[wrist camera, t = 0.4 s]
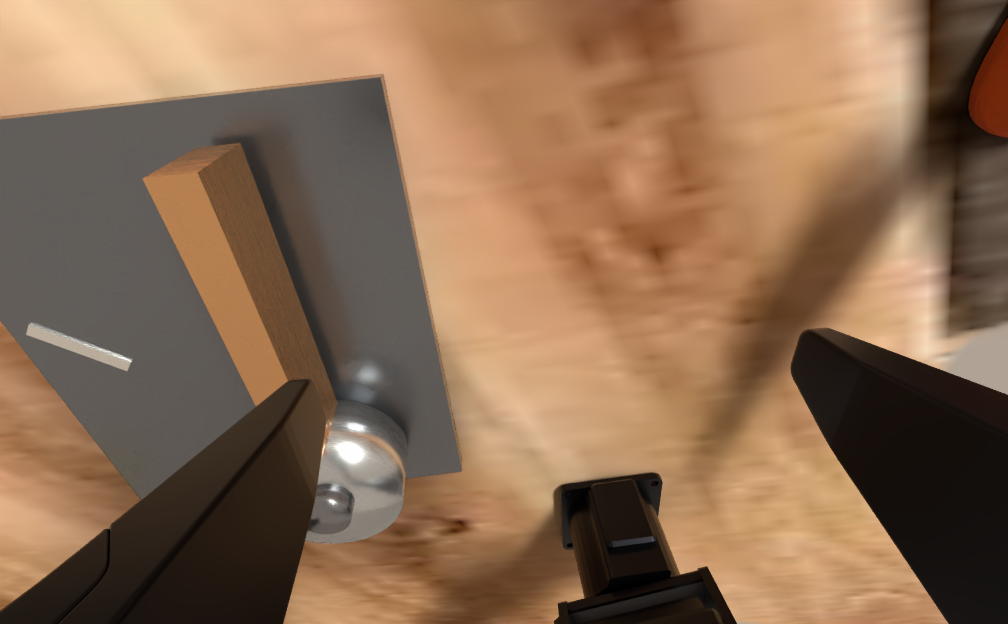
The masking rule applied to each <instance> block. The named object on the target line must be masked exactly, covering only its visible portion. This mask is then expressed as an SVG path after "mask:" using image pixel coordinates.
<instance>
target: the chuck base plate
mask: <svg viewBox="0 0 1008 624" xmlns="http://www.w3.org/2000/svg"><path fill="white" fill-rule="evenodd" d="M234 143H241V145H242V148H243V150H244V153H245V156H246V158H247V161H248V164H249V166H250V169H251V172H252V174H253V177H254V180H255V182H256V185H257V188H258V191H259V193H260V196H261V199H262V201H263V204H264V207H265V209H266V212H267V215H268V217H269V220H270V223H271V225H272V228H273V231H274V233H275V236H276V239H277V241H278V244H279V247H280V250H281V252H282V255H283V258H284V260H285V263H286V266H287V268H288V271H289V274H290V276H291V279H292V282H293V284H294V287H295V290H296V292H297V295H298V298H299V300H300V303H301V306H302V308H303V311H304V314H305V317H306V319H307V322H308V325H309V327H310V330H311V333H312V335H313V338H314V341H315V343H316V346H317V349H318V351H319V354H320V357H321V359H322V362H323V365H324V367H325V370H326V373H327V376H328V378H329V381H330V384H331V386H332V389H333V392H334V394H335V397H336V400H346V401H353V402H358V403H362V404H365V405H368V406H371V407H373V408H375V409H378V410H379V411H381V412H383V413H385V414H386V415H388V416H389V417H390V418H392V419H393V420H394V421H395V422H396V423H397V424H398V425H399V427H400V428H401V429H402V431H403V432H404V434H405V437H406V439H407V443H408V458H407V468H406V478H405V479H407V478H415V477H422V476H430V475H438V474H445V473H453V472H461V471H462V458H461V453H460V448H459V444H458V439H457V434H456V429H455V424H454V419H453V414H452V409H451V404H450V399H449V394H448V390H447V385H446V380H445V375H444V370H443V365H442V360H441V355H440V350H439V345H438V340H437V336H436V331H435V326H434V321H433V316H432V311H431V306H430V301H429V296H428V291H427V286H426V282H425V277H424V272H423V267H422V262H421V257H420V252H419V247H418V242H417V237H416V232H415V228H414V223H413V218H412V213H411V208H410V203H409V198H408V193H407V188H406V183H405V178H404V174H403V169H402V164H401V159H400V154H399V149H398V144H397V139H396V134H395V129H394V124H393V120H392V115H391V110H390V105H389V100H388V95H387V90H386V85H385V80H384V75H383V74H380V75H371V76H362V77H353V78H344V79H335V80H326V81H317V82H308V83H299V84H290V85H281V86H272V87H263V88H255V89H246V90H237V91H228V92H219V93H210V94H201V95H192V96H183V97H174V98H165V99H156V100H147V101H138V102H129V103H120V104H111V105H102V106H93V107H84V108H75V109H66V110H57V111H48V112H39V113H30V114H21V115H12V116H3V117H0V321H1V322H2V323H3V324H4V326H5V327H6V328H7V330H8V331H9V332H10V333H11V335H12V336H13V337H14V338H15V340H16V341H17V342H18V344H19V345H20V346H21V347H22V349H23V350H24V351H25V352H26V354H27V355H28V356H29V358H30V359H31V360H32V361H33V363H34V364H35V365H36V367H37V368H38V369H39V370H40V372H41V373H42V374H43V375H44V377H45V378H46V379H47V381H48V382H49V383H50V384H51V386H52V387H53V388H54V390H55V391H56V392H57V393H58V395H59V396H60V397H61V398H62V400H63V401H64V402H65V404H66V405H67V406H68V407H69V409H70V410H71V411H72V413H73V414H74V415H75V416H76V418H77V419H78V420H79V421H80V423H81V424H82V425H83V427H84V428H85V429H86V430H87V432H88V433H89V434H90V435H91V437H92V438H93V439H94V441H95V442H96V443H97V444H98V446H99V447H100V448H101V450H102V451H103V452H104V453H105V455H106V456H107V457H108V458H109V460H110V461H111V462H112V464H113V465H114V466H115V467H116V469H117V470H118V471H119V473H120V474H121V475H122V476H123V478H124V479H125V480H126V481H127V483H128V484H129V485H130V487H131V488H132V489H133V490H134V492H135V493H136V494H137V495H138V497H139V498H140V499H141V500H142V499H143V498H144V497H146V496H147V495H148V494H149V493H150V492H152V491H153V490H154V489H155V488H157V487H158V486H159V485H160V484H162V483H163V482H164V481H165V480H166V479H168V478H169V477H170V476H171V475H173V474H174V473H175V472H176V471H178V470H179V469H180V468H181V467H182V466H184V465H185V464H186V463H187V462H189V461H190V460H191V459H192V458H194V457H195V456H196V455H197V454H198V453H200V452H201V451H202V450H203V449H205V448H206V447H207V446H208V445H210V444H211V443H212V442H213V441H214V440H216V439H217V438H218V437H219V436H221V435H222V434H223V433H224V432H225V431H227V430H228V429H229V428H230V427H232V426H233V425H234V424H235V423H237V422H238V421H239V420H240V419H241V418H243V417H244V416H245V415H246V414H248V413H249V412H250V411H251V410H253V409H254V408H255V407H256V406H255V404H254V402H253V400H252V398H251V396H250V394H249V392H248V390H247V388H246V386H245V384H244V382H243V380H242V378H241V376H240V374H239V372H238V370H237V368H236V366H235V363H234V361H233V359H232V357H231V355H230V353H229V351H228V349H227V347H226V345H225V343H224V341H223V339H222V337H221V335H220V333H219V331H218V329H217V327H216V325H215V323H214V321H213V319H212V317H211V315H210V313H209V311H208V309H207V307H206V305H205V303H204V301H203V299H202V297H201V295H200V293H199V291H198V289H197V287H196V285H195V283H194V281H193V279H192V277H191V275H190V273H189V271H188V269H187V267H186V265H185V263H184V261H183V259H182V257H181V255H180V253H179V251H178V249H177V247H176V245H175V243H174V241H173V239H172V237H171V235H170V233H169V231H168V229H167V227H166V225H165V223H164V221H163V219H162V217H161V215H160V213H159V211H158V209H157V207H156V205H155V203H154V201H153V199H152V197H151V195H150V193H149V191H148V189H147V187H146V185H145V183H144V181H143V178H144V177H146V176H148V175H150V174H151V173H153V172H155V171H156V170H158V169H160V168H162V167H163V166H165V165H167V164H168V163H170V162H172V161H174V160H175V159H177V158H179V157H180V156H182V155H184V154H186V153H187V152H189V151H191V150H192V149H194V148H199V147H208V146H216V145H225V144H234Z"/></svg>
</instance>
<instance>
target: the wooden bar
mask: <svg viewBox="0 0 1008 624" xmlns="http://www.w3.org/2000/svg"><path fill="white" fill-rule="evenodd" d="M143 181H144V183H145V185H146V187H147V189H148V191H149V193H150V195H151V197H152V199H153V201H154V203H155V205H156V207H157V209H158V211H159V213H160V215H161V217H162V219H163V221H164V223H165V225H166V227H167V229H168V231H169V233H170V235H171V237H172V239H173V241H174V243H175V245H176V247H177V249H178V251H179V253H180V255H181V257H182V259H183V261H184V263H185V265H186V267H187V269H188V271H189V273H190V275H191V277H192V279H193V281H194V283H195V285H196V287H197V289H198V291H199V293H200V295H201V297H202V299H203V301H204V303H205V305H206V307H207V309H208V311H209V313H210V315H211V317H212V319H213V321H214V323H215V325H216V327H217V329H218V331H219V333H220V335H221V337H222V339H223V341H224V343H225V345H226V347H227V349H228V351H229V353H230V355H231V357H232V359H233V361H234V363H235V366H236V368H237V370H238V372H239V374H240V376H241V378H242V380H243V382H244V384H245V386H246V388H247V390H248V392H249V394H250V396H251V398H252V400H253V402H254V404H255V406H257V405H259V404H260V403H261V402H262V401H264V400H265V399H266V398H267V397H269V396H270V395H271V394H272V393H273V392H275V391H276V390H277V389H278V388H280V387H281V386H282V385H283V384H285V383H286V382H287V381H290V380H299V379H311V380H313V382H314V383H315V385H316V388H317V391H318V394H319V397H320V399H321V402H322V405H323V408H324V411H325V416H326V428H325V435H324V442H323V449H322V456H321V463H320V470H319V478H318V485H317V491H316V497H315V503H314V507H313V512H312V516H311V520H310V523H309V527H308V531H307V535H306V539H305V540H306V541H310V542H317V543H348V542H354V541H359V540H362V539H366V538H369V537H371V536H374V535H376V534H378V533H380V532H382V531H383V530H385V529H386V528H388V527H389V526H390V525H391V524H392V523H393V522H394V521H395V520H396V519H397V517H398V516H399V514H400V512H401V509H402V505H403V498H404V488H405V478H406V468H407V458H408V443H407V439H406V437H405V434H404V432H403V431H402V429H401V428H400V427H399V425H398V424H397V423H396V422H395V421H394V420H393V419H392V418H390V417H389V416H388V415H386V414H385V413H383V412H381V411H379V410H378V409H375V408H373V407H371V406H368V405H365V404H362V403H358V402H353V401H346V400H336V397H335V394H334V392H333V389H332V386H331V384H330V381H329V378H328V376H327V373H326V370H325V367H324V365H323V362H322V359H321V357H320V354H319V351H318V349H317V346H316V343H315V341H314V338H313V335H312V333H311V330H310V327H309V325H308V322H307V319H306V317H305V314H304V311H303V308H302V306H301V303H300V300H299V298H298V295H297V292H296V290H295V287H294V284H293V282H292V279H291V276H290V274H289V271H288V268H287V266H286V263H285V260H284V258H283V255H282V252H281V250H280V247H279V244H278V241H277V239H276V236H275V233H274V231H273V228H272V225H271V223H270V220H269V217H268V215H267V212H266V209H265V207H264V204H263V201H262V199H261V196H260V193H259V191H258V188H257V185H256V182H255V180H254V177H253V174H252V172H251V169H250V166H249V164H248V161H247V158H246V156H245V153H244V150H243V148H242V145H241V143H234V144H225V145H216V146H208V147H199V148H194V149H192V150H191V151H189V152H187V153H186V154H184V155H182V156H180V157H179V158H177V159H175V160H174V161H172V162H170V163H168V164H167V165H165V166H163V167H162V168H160V169H158V170H156V171H155V172H153V173H151V174H150V175H148V176H146V177H144V178H143Z"/></svg>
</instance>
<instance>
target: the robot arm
mask: <svg viewBox="0 0 1008 624" xmlns="http://www.w3.org/2000/svg"><path fill="white" fill-rule="evenodd" d="M791 374H792V377H793V380H794V381H795V383H796V385H797V387H798V389H799V391H800V393H801V395H802V397H803V398H804V400H805V402H806V404H807V406H808V408H809V410H810V412H811V413H812V415H813V417H814V419H815V421H816V423H817V425H818V427H819V428H820V430H821V432H822V434H823V436H824V438H825V439H826V441H827V443H828V445H829V446H830V448H831V450H832V451H833V453H834V454H835V456H836V457H837V459H838V460H839V462H840V463H841V465H842V466H843V468H844V469H845V471H846V472H847V474H848V475H849V477H850V478H851V480H852V481H853V483H854V484H855V486H856V487H857V489H858V490H859V492H860V493H861V495H862V496H863V498H864V499H865V500H866V502H867V503H868V505H869V506H870V508H871V509H872V511H873V512H874V514H875V515H876V517H877V518H878V520H879V521H880V523H881V524H882V526H883V527H884V529H885V530H886V532H887V533H888V535H889V536H890V538H891V539H892V541H893V542H894V544H895V545H896V546H897V548H898V549H899V551H900V552H901V554H902V555H903V557H904V558H905V560H906V561H907V563H908V564H909V566H910V567H911V569H912V570H913V572H914V573H915V575H916V576H917V578H918V579H919V581H920V582H921V584H922V585H923V587H924V588H925V590H926V591H927V592H928V594H929V595H930V597H931V598H932V600H933V601H934V603H935V604H936V606H937V607H938V609H939V610H940V612H941V613H942V615H943V616H944V618H945V619H946V621H947V622H948V624H1008V395H1007V394H1004V393H1001V392H999V391H996V390H993V389H991V388H988V387H985V386H983V385H980V384H977V383H975V382H972V381H969V380H967V379H964V378H961V377H959V376H956V375H953V374H950V373H948V372H945V371H943V370H940V369H937V368H934V367H932V366H929V365H926V364H924V363H921V362H918V361H916V360H913V359H910V358H908V357H905V356H902V355H900V354H897V353H894V352H892V351H889V350H886V349H884V348H881V347H878V346H876V345H873V344H870V343H868V342H865V341H862V340H859V339H857V338H854V337H851V336H849V335H846V334H843V333H841V332H838V331H835V330H833V329H830V328H817V329H807V330H805V331H803V332H802V333H801V335H800V337H799V340H798V343H797V346H796V349H795V353H794V356H793V359H792V362H791ZM325 428H326V416H325V411H324V408H323V405H322V402H321V399H320V397H319V394H318V391H317V388H316V385H315V383H314V382H313V380H311V379H299V380H290V381H287V382H286V383H285V384H283V385H282V386H281V387H280V388H278V389H277V390H276V391H275V392H273V393H272V394H271V395H270V396H269V397H267V398H266V399H265V400H264V401H262V402H261V403H260V404H259V405H257V406H256V407H255V408H254V409H253V410H251V411H250V412H249V413H248V414H246V415H245V416H244V417H243V418H241V419H240V420H239V421H238V422H237V423H235V424H234V425H233V426H232V427H230V428H229V429H228V430H227V431H225V432H224V433H223V434H222V435H221V436H219V437H218V438H217V439H216V440H214V441H213V442H212V443H211V444H210V445H208V446H207V447H206V448H205V449H203V450H202V451H201V452H200V453H198V454H197V455H196V456H195V457H194V458H192V459H191V460H190V461H189V462H187V463H186V464H185V465H184V466H182V467H181V468H180V469H179V470H178V471H176V472H175V473H174V474H173V475H171V476H170V477H169V478H168V479H166V480H165V481H164V482H163V483H162V484H160V485H159V486H158V487H157V488H155V489H154V490H153V491H152V492H150V493H149V494H148V495H147V496H146V497H144V498H143V499H142V500H141V501H139V502H138V503H137V504H136V505H134V506H133V507H132V508H131V509H129V510H128V511H127V512H126V513H125V514H123V515H122V516H121V517H120V518H118V519H117V520H116V521H115V522H113V523H112V524H111V526H110V529H105V530H103V531H102V532H101V533H100V534H99V535H97V536H96V537H95V538H94V539H92V540H91V541H90V542H89V543H88V544H86V545H85V546H84V547H83V548H81V549H80V550H79V551H78V552H76V553H75V554H74V555H73V556H71V557H70V558H69V559H67V560H66V561H65V562H64V563H62V564H61V565H60V566H59V567H57V568H56V569H55V570H53V571H52V572H51V573H50V574H48V575H47V576H46V577H45V578H43V579H42V580H41V581H40V582H38V583H37V584H36V585H34V586H33V587H32V588H30V589H29V590H28V591H26V592H25V593H24V594H22V595H21V596H20V597H18V598H17V599H15V600H14V601H13V602H11V603H10V604H9V605H7V606H6V607H5V608H3V609H2V610H1V611H0V624H283V622H284V619H285V615H286V611H287V607H288V603H289V600H290V596H291V592H292V588H293V584H294V581H295V577H296V573H297V569H298V565H299V562H300V558H301V554H302V550H303V546H304V542H305V539H306V535H307V531H308V527H309V523H310V520H311V516H312V512H313V507H314V503H315V497H316V491H317V485H318V478H319V470H320V463H321V456H322V449H323V442H324V435H325ZM661 490H662V479H661V477H660V475H659V474H657V473H651V474H644V475H636V476H629V477H621V478H614V479H606V480H598V481H591V482H583V483H576V484H568V485H564V486H562V487H561V488H560V508H561V530H562V543H563V547H564V548H565V549H574V552H575V557H576V561H577V566H578V570H579V575H580V579H581V584H582V589H583V593H584V598H585V599H581V600H577V601H573V602H569V603H568V602H567V601H565V602H561V603H558V610H559V617H558V618H557V619H556V620H555V621H554V624H737V623H736V621H735V619H734V617H733V615H732V613H731V611H730V609H729V608H728V606H727V604H726V602H725V600H724V598H723V596H722V594H721V592H720V590H719V588H718V586H717V584H716V583H715V581H714V579H713V577H712V575H711V573H710V571H709V569H708V567H707V566H706V567H702V568H698V570H697V571H693V572H689V573H685V574H681V575H680V573H679V570H678V568H677V565H676V562H675V560H674V557H673V555H672V552H671V550H670V547H669V545H668V542H667V540H666V537H665V534H664V532H663V529H662V527H661V524H660V522H659V519H658V512H659V505H660V497H661Z"/></svg>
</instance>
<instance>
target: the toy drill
mask: <svg viewBox="0 0 1008 624" xmlns="http://www.w3.org/2000/svg"><path fill="white" fill-rule="evenodd" d="M968 107H969V114H970V117H971V118H972V120H973V121H974V123H975V124H976V125H978V126H979V127H980V128H982V129H983V130H985V131H986V132H988V133H990V134H993V135H997V136H1001V137H1006V138H1008V18H1007V20H1006V21H1005V23H1004V24H1003V26H1002V28H1001V30H1000V31H999V33H998V35H997V37H996V39H995V40H994V42H993V44H992V46H991V47H990V49H989V51H988V53H987V55H986V56H985V58H984V60H983V62H982V64H981V66H980V68H979V70H978V73H977V75H976V78H975V80H974V83H973V86H972V89H971V93H970V99H969V104H968Z"/></svg>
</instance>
